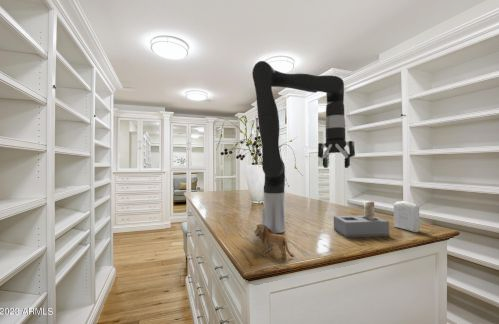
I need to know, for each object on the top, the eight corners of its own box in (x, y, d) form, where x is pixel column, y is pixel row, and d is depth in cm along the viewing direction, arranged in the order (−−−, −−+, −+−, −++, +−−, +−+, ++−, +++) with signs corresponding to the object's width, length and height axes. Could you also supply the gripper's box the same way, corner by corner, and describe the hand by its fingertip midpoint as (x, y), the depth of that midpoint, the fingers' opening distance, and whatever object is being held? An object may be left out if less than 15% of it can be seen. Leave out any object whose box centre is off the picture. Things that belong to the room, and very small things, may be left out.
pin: (364, 230, 101) (363, 202, 101) (365, 228, 104) (364, 201, 104) (374, 231, 99) (373, 203, 99) (375, 229, 102) (374, 201, 102)
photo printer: (421, 231, 102) (420, 202, 102) (415, 232, 100) (414, 203, 100) (398, 226, 111) (397, 199, 111) (392, 227, 110) (391, 200, 110)
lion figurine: (252, 250, 81) (251, 224, 81) (260, 246, 85) (260, 221, 85) (290, 261, 72) (289, 231, 72) (297, 255, 76) (297, 228, 76)
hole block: (346, 237, 95) (345, 222, 95) (333, 229, 107) (333, 216, 107) (389, 236, 96) (389, 221, 96) (372, 228, 108) (372, 215, 108)
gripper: (314, 128, 97) (315, 168, 97) (350, 124, 88) (350, 168, 88) (322, 130, 103) (323, 167, 103) (356, 126, 93) (357, 167, 93)
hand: (335, 167), depth 95 cm, fingers open, 8 cm apart
